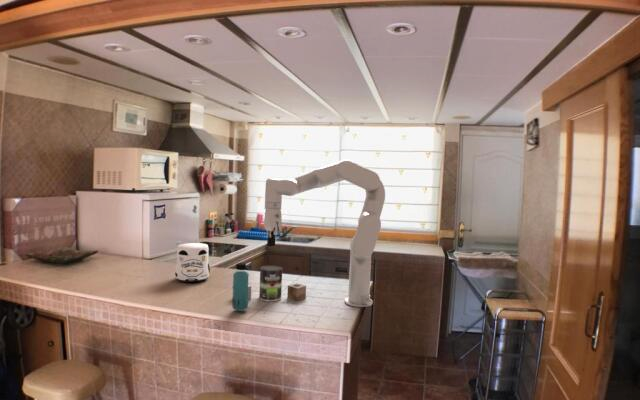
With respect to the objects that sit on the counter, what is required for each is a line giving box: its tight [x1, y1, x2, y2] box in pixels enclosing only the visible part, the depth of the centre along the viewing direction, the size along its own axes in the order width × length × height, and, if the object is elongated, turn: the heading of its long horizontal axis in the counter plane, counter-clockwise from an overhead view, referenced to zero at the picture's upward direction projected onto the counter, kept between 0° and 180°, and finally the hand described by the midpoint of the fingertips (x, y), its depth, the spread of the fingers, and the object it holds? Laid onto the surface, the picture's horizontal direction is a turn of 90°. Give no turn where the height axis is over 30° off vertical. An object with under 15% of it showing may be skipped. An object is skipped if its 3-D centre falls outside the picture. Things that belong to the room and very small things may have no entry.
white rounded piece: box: [174, 242, 211, 283], centre depth 201 cm, size 17×17×18 cm
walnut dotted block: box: [286, 282, 307, 302], centre depth 179 cm, size 6×6×6 cm
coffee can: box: [258, 264, 284, 302], centre depth 177 cm, size 10×10×14 cm
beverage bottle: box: [231, 262, 250, 311], centre depth 159 cm, size 6×7×20 cm
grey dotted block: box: [248, 282, 252, 301], centre depth 176 cm, size 6×6×6 cm
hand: (271, 245), depth 176 cm, fingers closed
